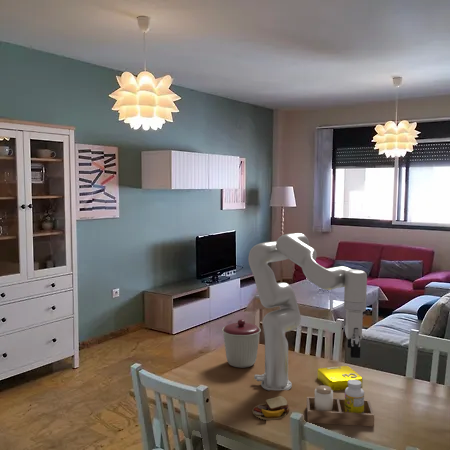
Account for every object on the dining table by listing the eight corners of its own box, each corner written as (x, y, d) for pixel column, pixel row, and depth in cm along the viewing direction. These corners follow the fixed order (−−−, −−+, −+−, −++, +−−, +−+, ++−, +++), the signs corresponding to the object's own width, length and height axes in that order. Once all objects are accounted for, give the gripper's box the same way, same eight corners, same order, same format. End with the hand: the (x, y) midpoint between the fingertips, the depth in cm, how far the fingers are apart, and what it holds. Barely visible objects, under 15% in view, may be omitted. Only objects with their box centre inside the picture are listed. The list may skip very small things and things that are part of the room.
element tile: (347, 374, 213) (347, 364, 213) (364, 388, 199) (364, 377, 198) (315, 377, 210) (315, 367, 210) (330, 392, 196) (330, 380, 195)
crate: (307, 424, 168) (307, 411, 168) (306, 409, 180) (306, 396, 179) (374, 428, 165) (374, 414, 165) (368, 412, 177) (368, 400, 176)
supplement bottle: (341, 413, 175) (342, 378, 174) (359, 412, 176) (360, 377, 174) (348, 422, 168) (348, 386, 167) (366, 421, 169) (367, 385, 168)
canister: (220, 357, 234) (220, 315, 232) (257, 356, 236) (257, 313, 234) (224, 372, 216) (224, 326, 214) (264, 370, 218) (264, 324, 216)
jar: (314, 419, 171) (315, 391, 170) (314, 410, 177) (314, 384, 176) (333, 420, 170) (333, 392, 169) (331, 411, 176) (332, 385, 175)
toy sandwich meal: (250, 407, 182) (250, 395, 182) (285, 405, 184) (285, 393, 183) (255, 423, 170) (255, 410, 170) (293, 421, 171) (293, 408, 171)
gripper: (341, 298, 179) (340, 343, 181) (346, 311, 162) (345, 360, 164) (362, 299, 178) (361, 344, 180) (369, 312, 161) (368, 362, 163)
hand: (353, 352), depth 172 cm, fingers open, 9 cm apart
